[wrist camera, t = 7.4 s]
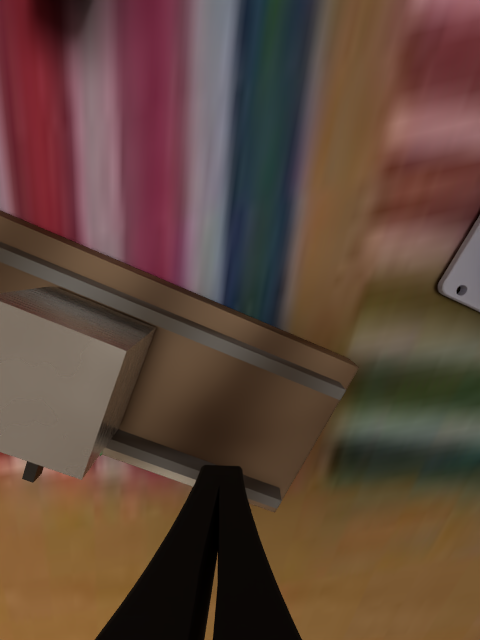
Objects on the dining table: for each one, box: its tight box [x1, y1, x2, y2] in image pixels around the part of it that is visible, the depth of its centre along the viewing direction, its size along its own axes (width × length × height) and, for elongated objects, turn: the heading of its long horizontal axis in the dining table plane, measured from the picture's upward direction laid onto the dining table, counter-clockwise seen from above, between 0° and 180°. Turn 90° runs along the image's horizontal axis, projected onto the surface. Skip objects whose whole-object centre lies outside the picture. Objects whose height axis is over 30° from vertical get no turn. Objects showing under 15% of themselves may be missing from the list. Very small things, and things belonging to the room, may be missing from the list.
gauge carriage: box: [0, 286, 156, 482], centre depth 11 cm, size 6×8×3 cm
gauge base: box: [0, 211, 359, 512], centre depth 11 cm, size 22×10×6 cm, turn 67°
